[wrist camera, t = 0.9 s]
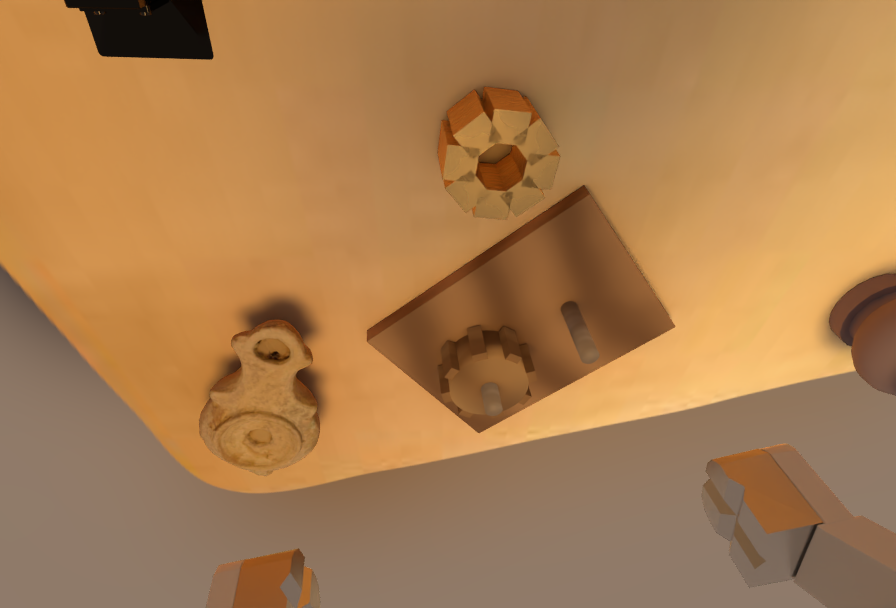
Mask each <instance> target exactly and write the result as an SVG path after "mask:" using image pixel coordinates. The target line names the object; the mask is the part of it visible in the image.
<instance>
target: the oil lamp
mask: <svg viewBox="0 0 896 608" xmlns="http://www.w3.org/2000/svg"><path fill="white" fill-rule="evenodd" d="M231 345H232V348H233V349H234V351H235V352H236V354H237V355H238V357H239V358H240V361H241V365H242V366H241V367H240V368H239V369H238V370H237V371H236V372H235V373H232V374H230V375H228V376H226V377H224V378H223V379H221V380H220V381H219V382H217V383H216V384H215V385H214V386H213V388H212V389H211V390H210V397H211V399H210V400H209V401H208V402H207V403H206V405H205V407H204V408H203V410H202V412H201V415H200V419H199V428H200V436H201V438H202V439H203V440H204V442H205V445H206V446H207V447H208V449H209V450H210V451H211V452H212V453H213V454H215V455H216V456H218V457H219V458H221V459H222V460H224V461H226V462H228V463H230V464H232V465H234V466H237V467H239V468H241V469H244V470H249V471H250V472H253V473H255V474H256V475H262V476H268V475H269V474H271V473H272V472H273V470H278V469H282V468H285V467H287V466H290V465H292V464H294V463H296V462H298V461H300V460H301V459H303V458H304V457H305V456H307V455H308V454H309V453H310V452H311V451H312V450H313V449H314V447H315V446H316V444H317V441H318V438H319V433H320V421H319V417H318V414H317V412H316V411H317V401H316V399H315V398H314V396H313V395H312V393H311V392H310V390H309V389H308V388H307V387H306V386H305V385H304V384H303V383H302V382H301V381H299V380H298V379H297V378H296V374H297V372H298V371H299V370H300V369H303V368H305V367H307V366H309V365H310V364H312V361H313V357H312V353H311V351H310V349H309V348H308V347H307V346H306V345H305V344H304V342H303V340H302V338H301V336H300V334H299V333H298V331H297V330H296V329H295V328H294V327H293V326H292V325H291V324H290V323H288V322H287V321H284V320H268V321H266V322H264V323H262V324H260V325H258V326H256V327H255V328H254V329H253V330H249V331H244V332H241V333H238V334H236V335H235V336H233V338H232V340H231Z"/></svg>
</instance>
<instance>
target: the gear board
mask: <svg viewBox="0 0 896 608" xmlns="http://www.w3.org/2000/svg"><path fill="white" fill-rule="evenodd" d="M674 327H675V325H674V323H673V322H672V320H671V319H670V317H669V316H668V314H667V313H666V311H665V310H664V308H663V306H662V305H661V303H660V302H659V300H658V299H657V297H656V296H655V294H654V293H653V291H652V289H651V288H650V286H649V285H648V283H647V282H646V280H645V279H644V277H643V276H642V274H641V273H640V271H639V269H638V268H637V266H636V265H635V263H634V262H633V260H632V259H631V257H630V256H629V254H628V252H627V251H626V249H625V248H624V246H623V245H622V243H621V242H620V240H619V239H618V237H617V235H616V234H615V232H614V231H613V229H612V228H611V226H610V225H609V223H608V222H607V220H606V219H605V217H604V215H603V214H602V212H601V211H600V209H599V208H598V206H597V205H596V203H595V202H594V200H593V198H592V197H591V195H590V194H589V192H588V191H587V189H586V188H585V186H583V187H581V188H580V189H578V190H577V191H575V192H574V193H572V194H571V195H569V196H568V197H566V198H565V199H563V200H562V201H560V202H559V203H557V204H556V205H554V206H553V207H551V208H550V209H548V210H547V211H545V212H544V213H542V214H541V215H539V216H538V217H536V218H535V219H533V220H532V221H530V222H529V223H527V224H526V225H524V226H523V227H521V228H520V229H518V230H517V231H515V232H514V233H512V234H511V235H509V236H508V237H506V238H505V239H503V240H502V241H500V242H499V243H497V244H496V245H494V246H493V247H491V248H490V249H488V250H487V251H485V252H484V253H482V254H481V255H480V256H478V257H477V258H475V259H474V260H472V261H471V262H469V263H468V264H466V265H465V266H463V267H462V268H460V269H459V270H457V271H456V272H454V273H453V274H451V275H450V276H448V277H447V278H445V279H444V280H442V281H441V282H439V283H438V284H436V285H435V286H433V287H432V288H430V289H429V290H427V291H426V292H424V293H423V294H421V295H420V296H418V297H417V298H415V299H414V300H412V301H411V302H409V303H408V304H406V305H405V306H403V307H402V308H400V309H399V310H397V311H396V312H394V313H393V314H391V315H390V316H388V317H387V318H385V319H384V320H382V321H381V322H379V323H378V324H376V325H375V326H373V327H372V328H370V329H369V330H367V342H368V343H369V344H370V345H372V346H373V347H374V348H375V349H376V350H378V351H379V352H380V353H381V354H383V355H384V356H385V357H386V358H387V359H389V360H390V361H391V362H392V363H394V364H395V365H396V366H397V367H398V368H400V369H401V370H402V371H403V372H404V373H406V374H407V375H408V376H409V377H411V378H412V379H413V380H414V381H415V382H417V383H418V384H419V385H420V386H422V387H423V388H424V389H425V390H426V391H428V392H429V393H430V394H431V395H433V396H434V397H435V398H436V399H437V400H439V401H440V402H441V403H442V404H444V405H445V406H446V407H447V408H448V409H450V410H451V411H452V412H453V413H455V414H456V415H457V416H458V417H459V418H461V419H462V420H463V421H464V422H466V423H467V424H468V425H469V426H470V427H472V428H473V429H474V430H475V431H477V432H478V433H480V432H482V431H484V430H486V429H488V428H489V427H491V426H493V425H495V424H497V423H499V422H501V421H502V420H504V419H506V418H508V417H510V416H512V415H514V414H515V413H517V412H519V411H521V410H523V409H525V408H526V407H528V406H530V405H532V404H534V403H536V402H538V401H539V400H541V399H543V398H545V397H547V396H549V395H550V394H552V393H554V392H556V391H558V390H560V389H562V388H563V387H565V386H567V385H569V384H571V383H573V382H575V381H576V380H578V379H580V378H582V377H584V376H586V375H587V374H589V373H591V372H593V371H595V370H597V369H599V368H600V367H602V366H604V365H606V364H608V363H610V362H611V361H613V360H615V359H617V358H619V357H621V356H623V355H624V354H626V353H628V352H630V351H632V350H634V349H636V348H637V347H639V346H641V345H643V344H645V343H647V342H648V341H650V340H652V339H654V338H656V337H658V336H660V335H661V334H663V333H665V332H667V331H669V330H671V329H672V328H674Z"/></svg>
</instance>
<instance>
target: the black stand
mask: <svg viewBox="0 0 896 608" xmlns="http://www.w3.org/2000/svg"><path fill="white" fill-rule="evenodd" d="M64 1H65V4H66V7H68V8H79V10H80V11H84V12H85V15H86V17H87V20H88V23H89V26H90V29H91V32H92V35H93V38H94V41H95V44H96V46H97V49H98V52H99V54H100V55H101V56H107V57H142V58H176V59H213V51H212V46H211V42H210V37H209V32H208V28H207V23H206V18H205V14H204V9H203V4H202V0H64Z"/></svg>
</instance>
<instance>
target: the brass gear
mask: <svg viewBox="0 0 896 608" xmlns="http://www.w3.org/2000/svg"><path fill="white" fill-rule="evenodd" d="M447 115H448V118H449V121H446V120H442V123H441V130H440V138H439V145H438V152H437V153H438V158H439V163H440V168H441V174H442V179H443V180H444V185H445V189H446V190H447V191H448V192H449V194H450V195H451V196H452V197H453V198H454V200H455V201H456V202H457V203H458V204H459V205H460V207H461V208H462V209H463V210H464V211H465V212H468V211H469V210H471V209H472V211H473V215H474V217H482V218H494V219H506V220H507V217H508V213H509V209H510V210H511V211H512V212H513V213H514V215H515V216H516V217H517V216H519V215H520V214H522V213H523V212H525V211H526V210H527V209H529V208H530V207H532V206H533V205H535V204H536V203H538V202H539V201H541V200H542V199H544V198H545V196H544V194H543V192H542V190H541V189H551V188H552V185H553V181H554V177H555V174H556V170H557V167H558V163H559V159H560V155H559V153H558V152H557V150H556V149H557V148H558V147H559V146H558V144H557V143H556V141H555V140H554V138H553V137H552V135H551V134H550V132H549V130H548V129H547V127H546V126H545V124H544V123H543V121H542V120H541V118H540V117H539V115H538V114H537V112H536V110H535V109H534V107H533V106H532V104H531V103H530V101H529V100H528V98H527V97H526V96H525V97H524V98H522V96H521V95H520V93H519V92H518V91H515V90H507V89H499V88H491V87H484V91H483V96H482V99H481V98H480V97H479V95H478V94H477V92H476V91H475V90H473V91H472V92H471V93H470V94H468V95H467V96H466V97H464V98H463V99H462V100H461V101H459V102H458V103H457V104H456V105H454V106H453V107H452V108H451V109H449V110H448V111H447ZM496 143H500V144H509V145H512V149H511V153H510V154H509V155H507V156H506V157H505V158H503V159H502V160H500V161H499V162H498V163H496V164H490V163H480V162H478V158H479V155H481V154H482V153H483V152H485V151H486V150H487V149H489V148H490V147H492V146H493V145H494V144H496Z"/></svg>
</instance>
